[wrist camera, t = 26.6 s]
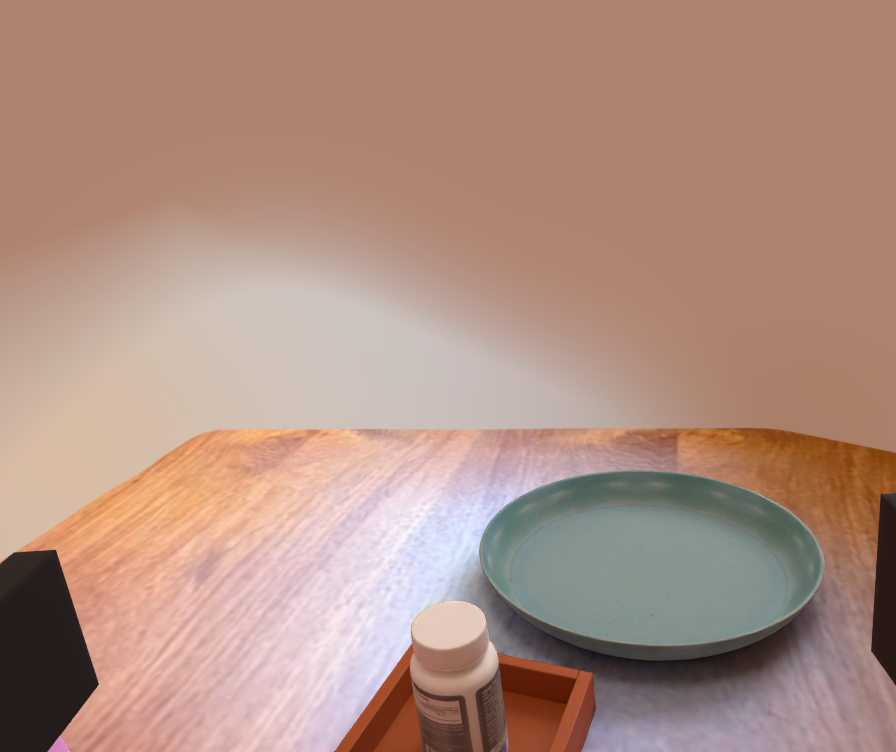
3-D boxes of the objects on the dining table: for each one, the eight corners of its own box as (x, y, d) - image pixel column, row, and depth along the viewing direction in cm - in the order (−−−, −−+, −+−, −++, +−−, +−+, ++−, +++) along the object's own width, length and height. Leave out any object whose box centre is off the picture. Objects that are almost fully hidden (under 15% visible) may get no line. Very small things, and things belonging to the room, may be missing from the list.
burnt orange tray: (595, 708, 43) (593, 672, 42) (534, 890, 33) (530, 846, 32) (421, 670, 48) (416, 636, 47) (322, 817, 38) (314, 778, 37)
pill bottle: (486, 707, 43) (471, 585, 41) (524, 764, 39) (510, 631, 36) (411, 739, 41) (391, 613, 39) (443, 801, 37) (422, 665, 35)
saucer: (879, 697, 41) (882, 648, 40) (461, 685, 46) (455, 641, 45) (774, 497, 64) (775, 463, 63) (501, 503, 69) (497, 471, 68)
